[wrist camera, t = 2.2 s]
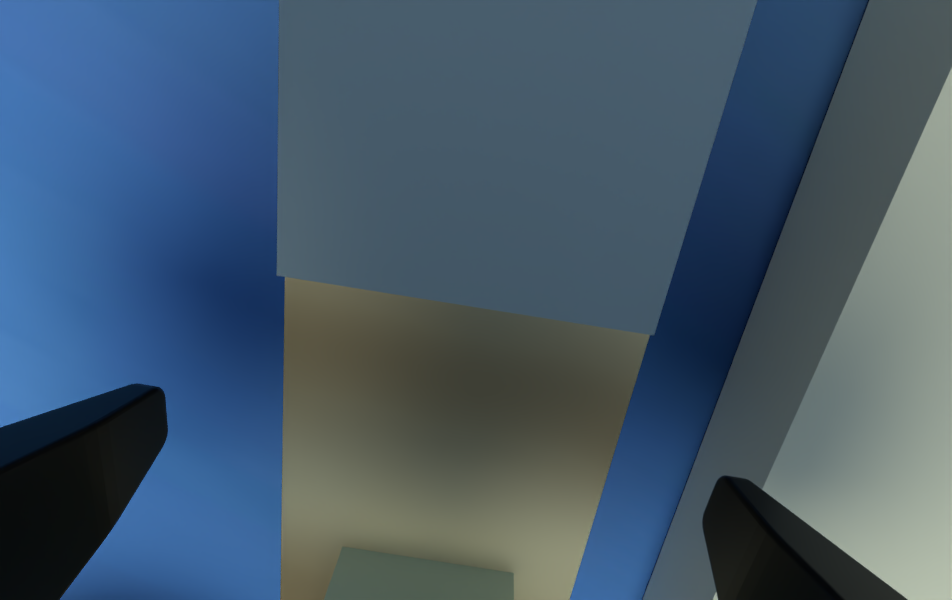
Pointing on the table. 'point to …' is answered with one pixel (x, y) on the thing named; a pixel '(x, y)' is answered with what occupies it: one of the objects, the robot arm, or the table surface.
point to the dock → (852, 330)
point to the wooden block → (444, 435)
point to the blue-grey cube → (500, 147)
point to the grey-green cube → (413, 579)
